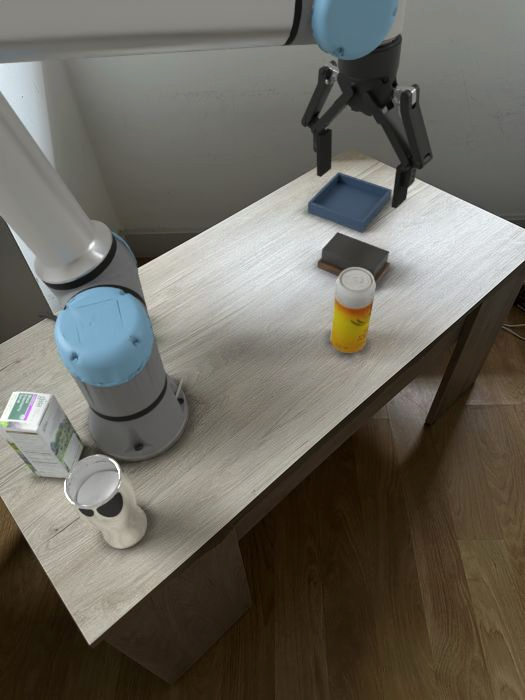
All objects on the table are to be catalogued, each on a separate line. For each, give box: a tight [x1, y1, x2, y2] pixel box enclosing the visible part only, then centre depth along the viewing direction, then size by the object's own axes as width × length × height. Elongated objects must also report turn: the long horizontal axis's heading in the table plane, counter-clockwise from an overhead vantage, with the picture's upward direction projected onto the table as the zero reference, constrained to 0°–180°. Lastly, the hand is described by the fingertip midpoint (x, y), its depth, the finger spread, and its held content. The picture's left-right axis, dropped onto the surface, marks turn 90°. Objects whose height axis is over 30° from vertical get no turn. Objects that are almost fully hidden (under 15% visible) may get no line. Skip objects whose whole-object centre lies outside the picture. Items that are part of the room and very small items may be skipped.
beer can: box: [329, 267, 377, 354], centre depth 84 cm, size 6×6×15 cm
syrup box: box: [0, 391, 85, 479], centre depth 72 cm, size 6×6×14 cm
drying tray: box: [307, 171, 393, 234], centre depth 112 cm, size 13×13×3 cm
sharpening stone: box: [317, 231, 391, 286], centre depth 99 cm, size 12×7×4 cm, turn 56°
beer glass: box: [63, 454, 148, 550], centre depth 65 cm, size 7×7×15 cm
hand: (359, 187), depth 78 cm, fingers open, 13 cm apart
